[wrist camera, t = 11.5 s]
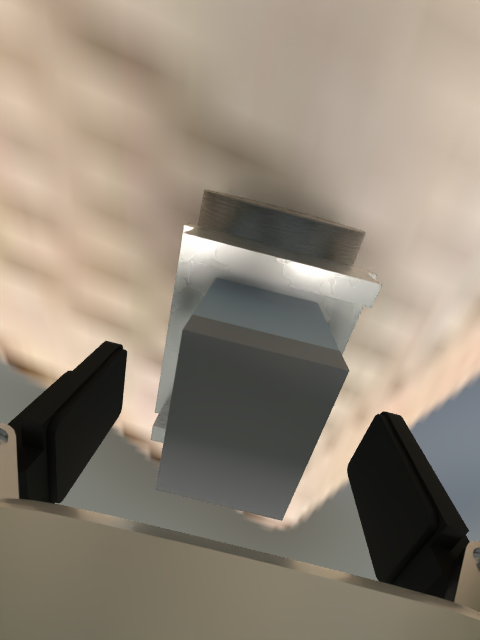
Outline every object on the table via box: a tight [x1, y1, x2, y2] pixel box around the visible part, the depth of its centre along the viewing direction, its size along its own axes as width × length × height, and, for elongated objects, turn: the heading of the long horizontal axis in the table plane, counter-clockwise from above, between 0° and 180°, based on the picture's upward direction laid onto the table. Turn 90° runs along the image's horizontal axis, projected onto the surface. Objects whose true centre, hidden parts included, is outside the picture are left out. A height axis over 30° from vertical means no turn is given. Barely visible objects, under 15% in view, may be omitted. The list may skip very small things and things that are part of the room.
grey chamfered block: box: [156, 278, 349, 521], centre depth 13 cm, size 7×5×6 cm
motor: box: [151, 190, 382, 443], centre depth 20 cm, size 14×10×13 cm
